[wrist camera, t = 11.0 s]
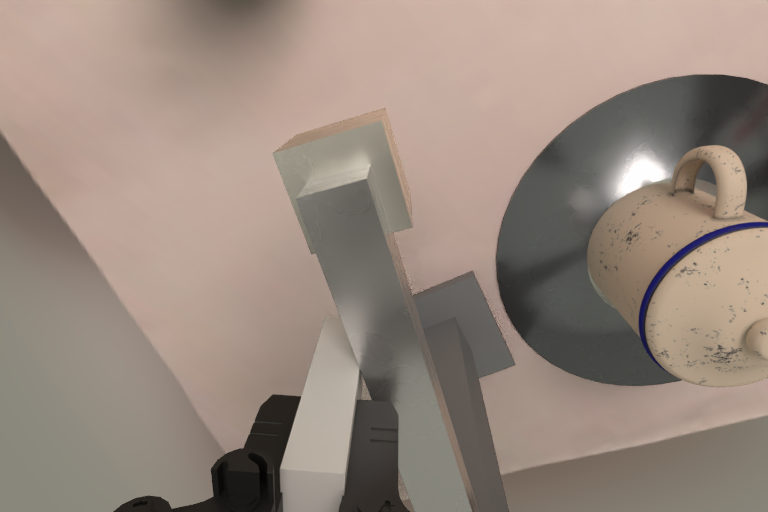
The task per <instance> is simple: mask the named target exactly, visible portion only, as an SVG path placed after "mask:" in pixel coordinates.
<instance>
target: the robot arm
mask: <svg viewBox="0 0 768 512" xmlns="http://www.w3.org/2000/svg"><path fill="white" fill-rule="evenodd" d="M362 386H363V375H362V372H361V370H360V367H359V364H358V362H357V359H356V356H355V354H354V351H353V349H352V346H351V343H350V341H349V338H348V336H347V333H346V330H345V328H344V325H343V322H342V320H341V317H340V316H331V315H326V316H325V320H324V323H323V326H322V330H321V333H320V336H319V340H318V343H317V346H316V350H315V353H314V356H313V360H312V363H311V366H310V370H309V373H308V376H307V380H306V383H305V386H304V390H303V393H302V396H301V397H300V396H287V395H272V396H271V397H270V398H269V399H268V400H267V401H266V402H264V403H263V404H262V405H261V407H260V409H259V411H258V414H257V416H256V419H255V423H254V424H253V426H252V429H251V431H250V435H249V436H248V438H247V441H246V443H245V446H244V448H243V449H237V450H234V451H232V452H229V453H227V454H225V455H224V456H223V457H221V458H220V459H218V460H217V462H216V463H215V464H214V466H213V467H212V468H211V474H212V484H213V493H214V497H212V498H210V499H208V500H206V501H204V502H200V503H197V504H193V505H189V506H184V507H179V508H174V509H171V507H170V505H169V503H168V502H167V501H166V500H164V499H162V498H161V497H155V496H145V497H139V498H135V499H133V500H131V501H129V502H126V503H124V504H122V505H121V506H120V507H119V508H117V509H116V510H115V511H114V512H410V511H408V510H407V508H406V507H405V506H404V505H403V503H402V501H401V499H400V497H399V492H398V429H399V415H398V413H397V411H396V409H395V408H394V406H393V404H392V402H384V401H370V400H361V395H362Z"/></svg>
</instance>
